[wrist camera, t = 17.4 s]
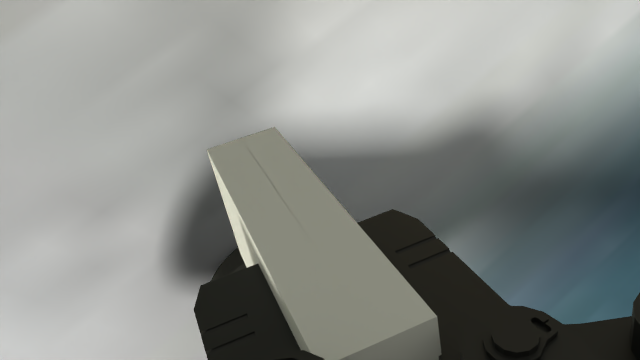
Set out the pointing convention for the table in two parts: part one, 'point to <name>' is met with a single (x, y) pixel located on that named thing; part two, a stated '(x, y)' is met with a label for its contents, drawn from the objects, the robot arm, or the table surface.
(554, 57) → the table surface
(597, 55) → the table surface
